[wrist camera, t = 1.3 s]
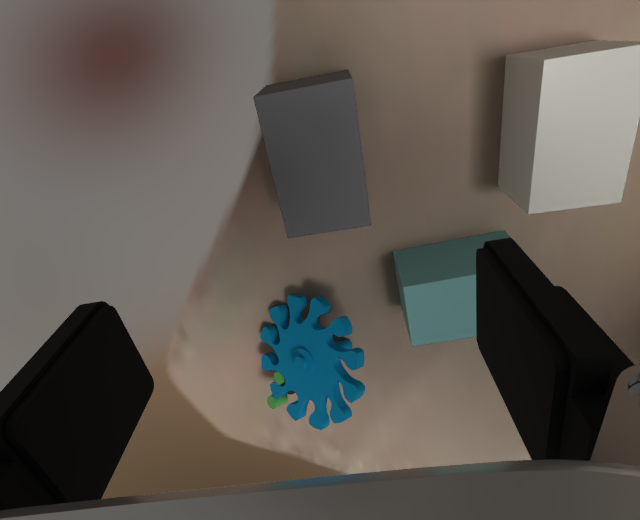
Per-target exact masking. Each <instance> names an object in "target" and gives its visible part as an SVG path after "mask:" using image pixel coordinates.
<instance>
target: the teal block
mask: <svg viewBox="0 0 640 520" xmlns="http://www.w3.org/2000/svg"><path fill="white" fill-rule="evenodd" d="M504 238H511V237H510V236H509V235H508V234H507V233H506V232H505V230H504V231H498V232H493V233H488V234H482V235H477V236H471V237H466V238H461V239H455V240H450V241H445V242H439V243H434V244H429V245H423V246H418V247H413V248H407V249H402V250H396V251H393V257H394V264H395V270H396V276H397V283H398V289H399V295H400V301H401V307H402V311H403V314H404V318H405V322H406V326H407V329H408V333H409V337H410V341H411V344H412V347H413V346H419V345H426V344H432V343H438V342H445V341H451V340H457V339H464V338H470V337H476V336H477V335H476V251H477V249H479V248H483V246H484V243H485V242H486V241H491V240H498V239H504Z"/></svg>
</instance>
